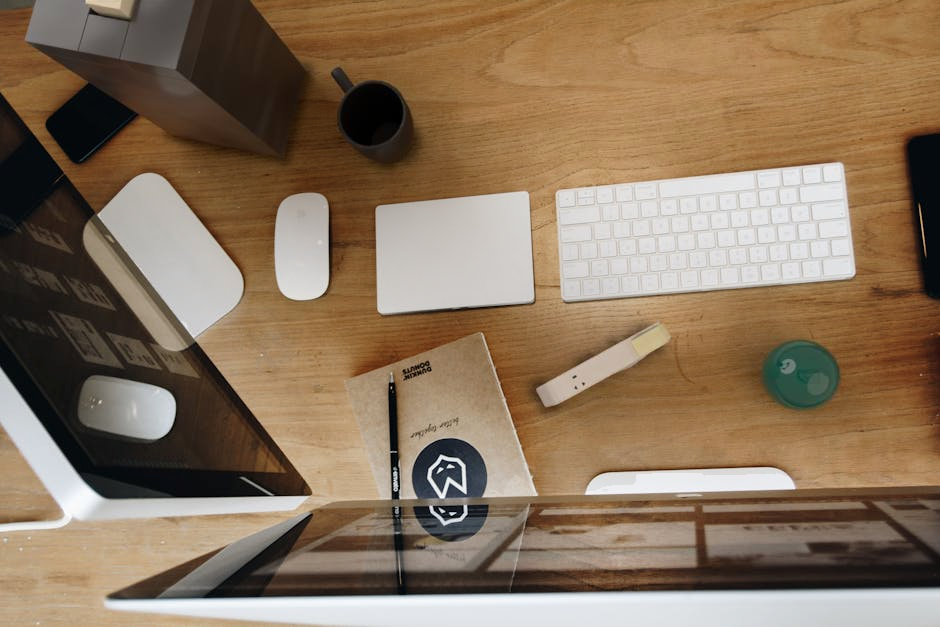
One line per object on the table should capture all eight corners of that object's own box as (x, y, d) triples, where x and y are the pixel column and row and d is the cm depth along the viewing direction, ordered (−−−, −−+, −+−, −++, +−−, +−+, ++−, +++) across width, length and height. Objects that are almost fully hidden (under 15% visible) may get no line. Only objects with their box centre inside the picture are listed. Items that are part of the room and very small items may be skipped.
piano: (171, 135, 93) (23, 41, 67) (194, 49, 93) (57, -77, 68) (283, 158, 90) (175, 70, 65) (306, 70, 91) (208, -52, 65)
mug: (381, 76, 90) (361, 40, 80) (435, 147, 88) (421, 119, 79) (330, 115, 90) (304, 84, 81) (383, 186, 88) (363, 163, 79)
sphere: (740, 392, 81) (760, 394, 73) (767, 329, 81) (790, 324, 73) (808, 421, 80) (836, 426, 72) (835, 357, 80) (866, 355, 72)
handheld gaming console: (654, 349, 84) (546, 409, 83) (642, 329, 85) (535, 388, 84) (682, 338, 73) (558, 407, 72) (668, 315, 74) (545, 383, 73)
